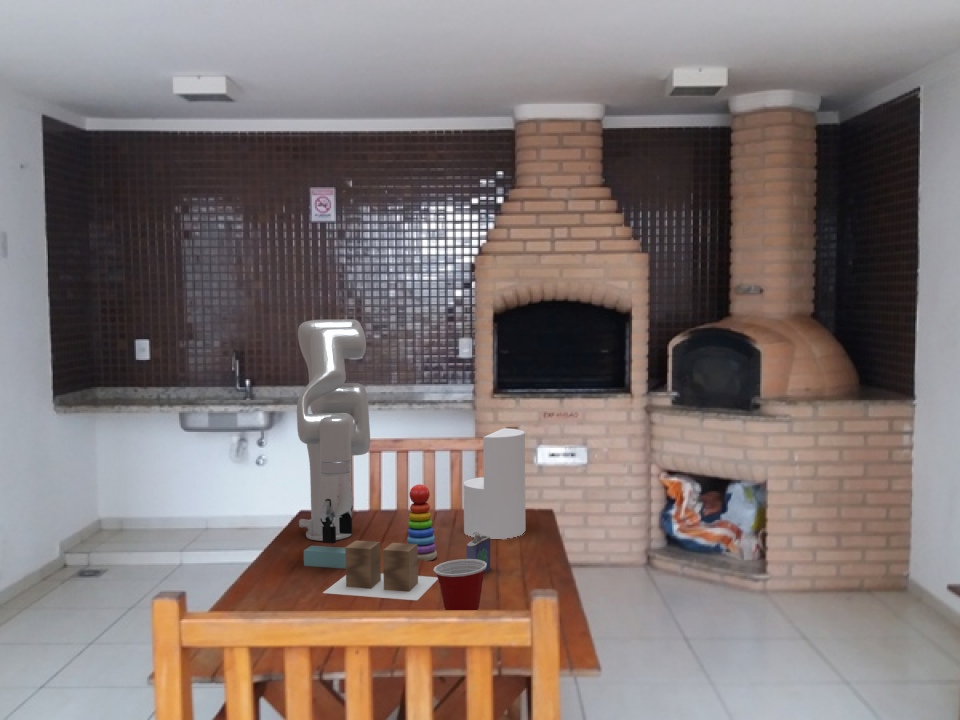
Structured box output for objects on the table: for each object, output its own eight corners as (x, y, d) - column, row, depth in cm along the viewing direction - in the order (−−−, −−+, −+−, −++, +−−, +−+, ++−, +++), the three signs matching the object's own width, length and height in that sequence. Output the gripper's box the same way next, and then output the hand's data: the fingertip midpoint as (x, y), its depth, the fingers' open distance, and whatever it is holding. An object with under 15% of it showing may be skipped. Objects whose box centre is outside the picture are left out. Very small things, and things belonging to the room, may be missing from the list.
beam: (304, 570, 217) (303, 550, 217) (311, 565, 221) (311, 545, 221) (365, 574, 213) (365, 554, 213) (372, 569, 217) (372, 549, 217)
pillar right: (383, 589, 198) (383, 549, 198) (393, 581, 204) (392, 542, 203) (409, 591, 197) (408, 551, 196) (418, 583, 202) (417, 544, 202)
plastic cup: (444, 611, 187) (443, 555, 186) (494, 615, 184) (493, 558, 183) (426, 629, 177) (425, 570, 176) (478, 635, 174) (478, 574, 173)
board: (322, 597, 197) (322, 592, 197) (350, 575, 212) (350, 571, 212) (417, 604, 191) (417, 600, 191) (439, 581, 207) (439, 577, 206)
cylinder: (533, 526, 256) (532, 429, 254) (514, 541, 239) (513, 438, 237) (476, 521, 261) (475, 427, 259) (454, 536, 245) (453, 435, 243)
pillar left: (346, 586, 201) (345, 547, 200) (356, 578, 206) (355, 540, 206) (371, 588, 199) (370, 549, 198) (380, 580, 205) (380, 541, 204)
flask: (473, 584, 205) (473, 538, 204) (462, 582, 206) (462, 536, 205) (492, 573, 213) (492, 528, 212) (482, 571, 214) (481, 527, 213)
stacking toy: (442, 555, 227) (441, 483, 226) (427, 564, 220) (426, 489, 219) (415, 552, 231) (414, 480, 229) (400, 560, 224) (398, 486, 222)
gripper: (336, 462, 225) (338, 529, 225) (305, 473, 208) (307, 546, 208) (364, 462, 223) (365, 530, 223) (335, 474, 206) (337, 547, 207)
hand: (337, 538), depth 216 cm, fingers open, 9 cm apart
